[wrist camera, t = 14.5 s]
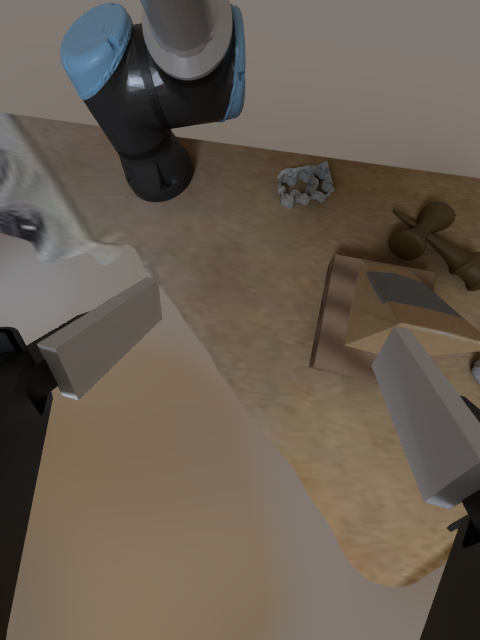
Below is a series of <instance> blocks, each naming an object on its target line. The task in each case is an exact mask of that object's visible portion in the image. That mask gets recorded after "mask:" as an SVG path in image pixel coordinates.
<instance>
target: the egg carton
mask: <svg viewBox="0 0 480 640" xmlns="http://www.w3.org/2000/svg"><path fill="white" fill-rule="evenodd" d="M316 176H318V178H319V179H322V180H323V182H322V186H321V190H322V191H324V192H327V194H325V195H324V194H323V193H321V192H320V191H317V188H318V185H319V180H318V178H316ZM277 178H278V192H279V194H281V205H284V206H286V207H287V208H293V206H294V204H295V203H298V202H300V203H302V204H303V205H304V206H305V205H307V204H309V202H310V201H311V200H313V199H316V200H318V201H319V202H325V199H326V198H327V197H328V196H329V195H330V193H331V192H334V189H333V181H332V178H331V173H330V170H329V165H328V161H326V162H323V163H320V164H317V165H312V166H309V165H306V166H303V167H297V168H286V169H284V170H282V171H281V172H280V173H279V174H278V176H277ZM301 179H302V180H303V181H304V182H306V183H307V185H306V190H305V192H306V193H303V194H302V193H300V191H299V190H292V191H291V192H290V193H289V194H286V188H285V187H284V186H283V185H282V183H287V184H288V185H290V186H294V185H296V183H297V180H301ZM307 194H308V195H311V197H309V196H308V195H307Z"/></svg>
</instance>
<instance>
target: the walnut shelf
mask: <svg viewBox="0 0 480 640" xmlns="http://www.w3.org/2000/svg"><path fill="white" fill-rule="evenodd" d="M361 261H365V262H371V263H376V264H382V265H388V266H392V267H396V268H400V269H404V270H408V271H411V272H412V273H413V274H414V275H416V276H417V277H418V278H419V279H420V280H421V281H422V282H423V283H424V284H425V285H426V286H427V287H429V288H430V289H431V290H432V291H433V288H434V276H435V272H432V271H426V270H420V269H415V268H409V267H404V266H398V265H392V264H387V263H381V262H376V261H370V260H364V259H359V258H353V257H348V256H342V255H336V254H335V256H334V257H333V259H332V261H331V262H330V264H329V266H328V271H327V276H326V281H325V286H324V291H323V297H322V302H321V307H320V312H319V317H318V322H317V328H316V333H315V338H314V343H313V348H312V353H311V359H310V364H309V368H313V369H317V370H327V371H330V372H334V373H338V374H342V375H346V376H350V377H354V378H358V379H362V380H366V381H369V382H373V383H377V384H378V381H377V379H376V376H375V374H374V371H373V368H372V366H371V365H372V364H373V362H374V360H375V358H376V357H377V355H378V354H375V353H371V352H367V351H364V350H360V349H356V348H353V347H349V346H345V339H346V333H347V326H348V319H349V315H350V311H351V306H352V300H353V295H354V290H355V286H356V282H357V278H358V273H359V269H360V265H361Z"/></svg>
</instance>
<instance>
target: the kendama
mask: <svg viewBox="0 0 480 640" xmlns="http://www.w3.org/2000/svg"><path fill="white" fill-rule="evenodd" d="M393 213H394V214H395V215H396V216H398V217H399V218H400V219H401V220H402V221H404V222H405V223H406V224H407V225H408V226H410V227H411V228H412V229H404V230H400V231H397V232H396V233H394V234H393V235H392V236H391V238H390V239H389V244H388V245H389V247H390V249H391V251H392V252H393V253H394V254H395V255H397V256H398V257H400V258H402V259H406V260H412V259H415V258H418V257H419V256H421V255H422V253H423V252H424V251H425V247H426V241H427V242H428V243H429V244H430V245H431V246H432V247H433V248H434V249H435V250H436V251H437V252H438V253H439V254H440V255H441V256H442V257H443V258H444V259H445V261H446V262H447V263H448V264H449V266H450V269H451V271H450V273H451V274H455V275H458V276H460V277H461V278H462V279H463V280H464V281H465V282H466V284H467V290H468V291H475V290H479V289H480V253H479V252H477V253H470V252H467V251H464V250H462V249H460V248H458V247H456V246H454V245H452V244H450V243H448V242H446V241H444V240H442V239H441V238H439V237H437V236H436V235H434V234H432V232H437V231H442V230H444V229H445V228H447V227H449V226H450V225H451V224H452V223H453V222H454V219H455V216H456V215H455V212H454V210H453V209H452V208H451V207H450V206H449V205H447V204H445V203H442V202H434V203H431V204H428V205H427V206H426V207H424V208H423V209H422V211H421V212H420V213H419V217H418V223H416V222H415V221H413V220H412V219H410V218H409V217H407V216H406V215H404V214H403V213H402V212H400V211H398V210H396V209H393Z"/></svg>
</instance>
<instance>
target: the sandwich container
mask: <svg viewBox="0 0 480 640" xmlns="http://www.w3.org/2000/svg"><path fill="white" fill-rule="evenodd" d="M394 326H395V327H400V328H405V329H410V330H411V331H412V333H413V334H414V335H415V337H416V338H417V339H418V341H419V342H420V343H421V345H422V346H423V347H424V349H425V350H426V352H427V353H428V354H429V356H439V355H448V354H458V353H468V352H478V351H480V331H478V330H477V329H476V328H475V327H474V326H472V325H471V324H470V323H469V322H468V321H466V320H465V319H464V318H463V317H461V316H460V315H459V314H458V313H457V312H456V311H454V310H453V309H452V308H451V307H450V306H449V305H448V304H447V303H446V302H444V301H443V300H442V299H441V298H440V297H439V296H438V295H436V294H435V293H434V292H433V291H432V290H431V289H430V288H429V287H427V286H426V285H425V284H424V283H423V282H422V281H421V280H420V279H419V278H418V277H417V276H416V275H414V274H413V273H412V272H411V271H408V270H404V269H400V268H396V267H392V266H388V265H382V264H376V263H371V262H365V261H361V265H360V269H359V273H358V278H357V282H356V286H355V290H354V295H353V300H352V306H351V311H350V315H349V319H348V326H347V333H346V339H345V346H349V347H353V348H356V349H360V350H364V351H367V352H371V353H375V354H378V353H379V351H380V350H381V348H382V346H383V345H384V343H385V341H386V339H387V338H388V336H389V334H390V332H391V331H392V329H393V327H394Z"/></svg>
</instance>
